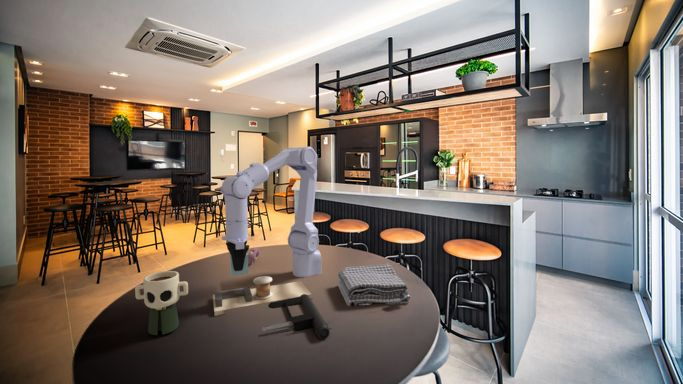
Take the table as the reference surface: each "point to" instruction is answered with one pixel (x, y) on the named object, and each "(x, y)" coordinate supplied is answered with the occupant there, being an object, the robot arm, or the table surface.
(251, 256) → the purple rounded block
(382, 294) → the towel
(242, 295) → the winding board
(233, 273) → the pale blue block
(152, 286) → the character mug
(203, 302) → the table surface
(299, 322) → the door handle
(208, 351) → the table surface
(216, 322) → the table surface
